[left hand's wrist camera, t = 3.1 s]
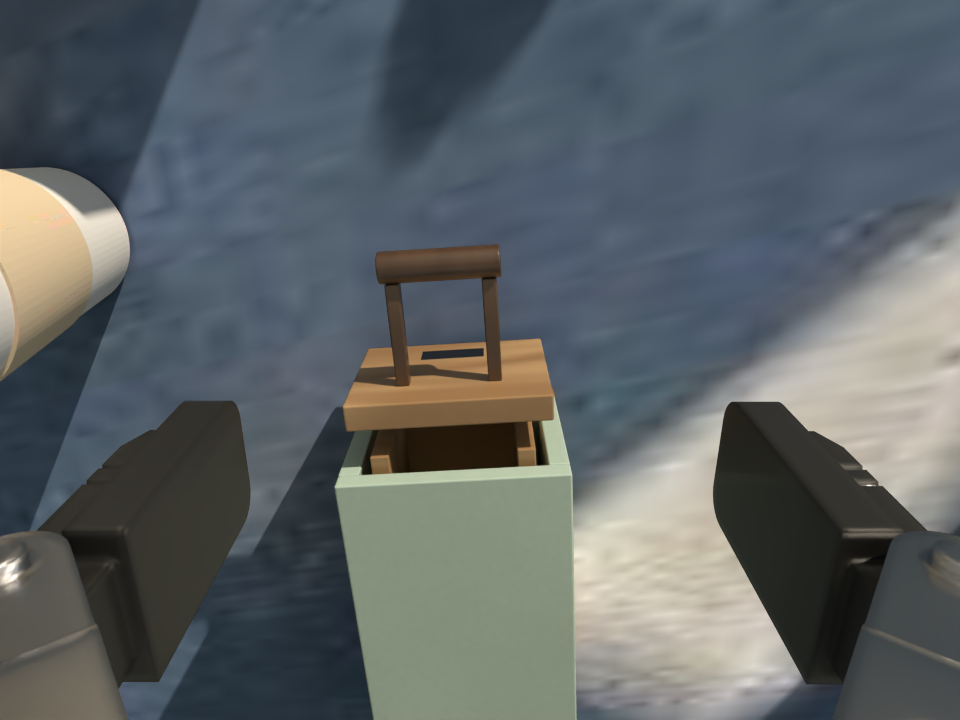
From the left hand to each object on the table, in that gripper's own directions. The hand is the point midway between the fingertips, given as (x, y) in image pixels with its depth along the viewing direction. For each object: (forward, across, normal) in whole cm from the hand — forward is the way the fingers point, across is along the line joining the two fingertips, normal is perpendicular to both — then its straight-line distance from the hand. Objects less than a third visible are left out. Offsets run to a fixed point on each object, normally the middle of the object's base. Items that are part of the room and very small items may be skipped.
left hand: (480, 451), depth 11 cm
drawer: (+22, +1, +13) cm, 26 cm away
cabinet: (+23, 0, +20) cm, 31 cm away
